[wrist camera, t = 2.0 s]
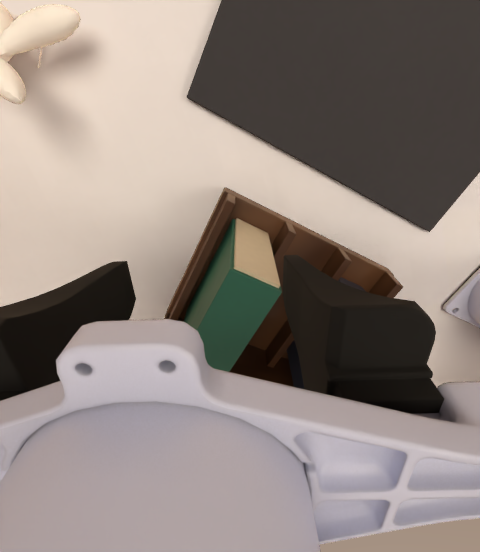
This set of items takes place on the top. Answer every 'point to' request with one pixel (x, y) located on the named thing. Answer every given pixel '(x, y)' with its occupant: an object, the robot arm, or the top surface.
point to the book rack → (284, 241)
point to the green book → (234, 294)
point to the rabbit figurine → (30, 40)
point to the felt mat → (356, 91)
